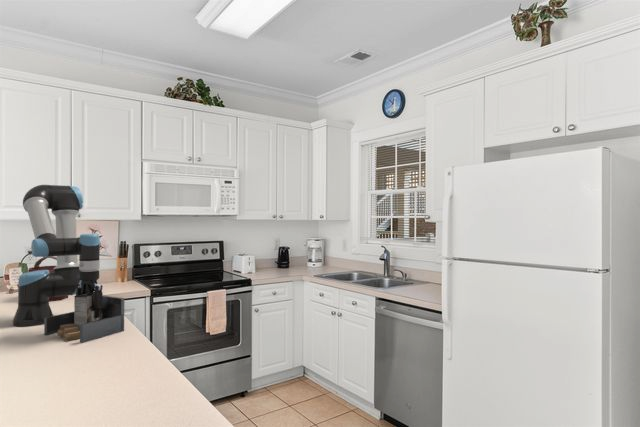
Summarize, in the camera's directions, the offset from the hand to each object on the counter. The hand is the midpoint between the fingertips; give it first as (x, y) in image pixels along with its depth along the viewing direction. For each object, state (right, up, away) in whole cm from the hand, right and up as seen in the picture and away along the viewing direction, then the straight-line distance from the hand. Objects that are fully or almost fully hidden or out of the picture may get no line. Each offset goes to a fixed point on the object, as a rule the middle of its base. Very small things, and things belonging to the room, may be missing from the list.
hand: (88, 324), depth 173 cm
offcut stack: (-4, -3, -8) cm, 9 cm away
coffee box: (0, -3, 0) cm, 3 cm away
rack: (0, -3, -1) cm, 3 cm away
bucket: (-60, -4, +66) cm, 90 cm away
